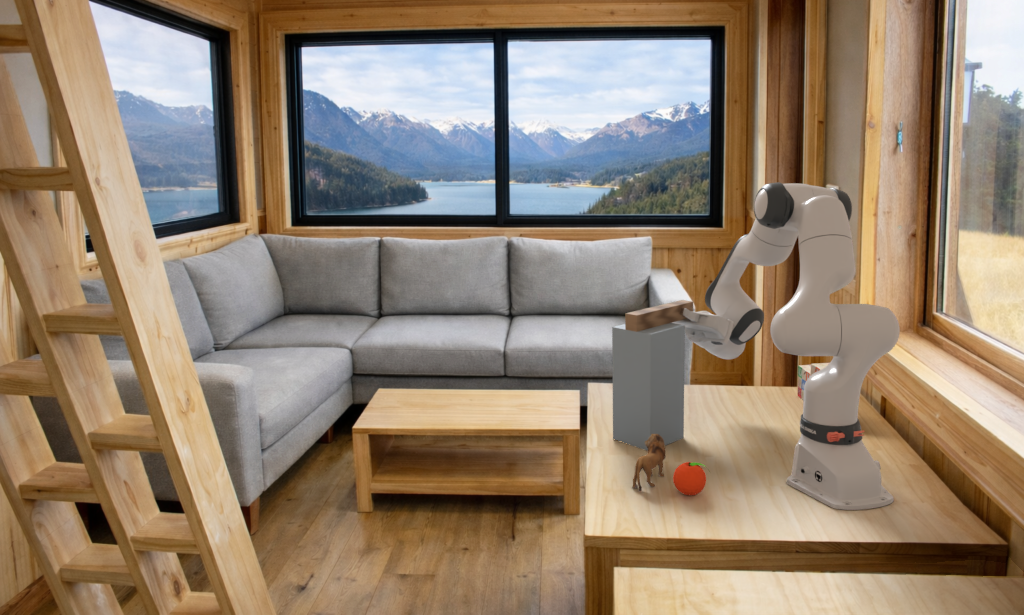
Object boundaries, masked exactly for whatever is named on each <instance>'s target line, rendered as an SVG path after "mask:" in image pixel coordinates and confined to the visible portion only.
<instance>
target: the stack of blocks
mask: <svg viewBox="0 0 1024 615" xmlns="http://www.w3.org/2000/svg"><path fill="white" fill-rule="evenodd" d="M829 363H830V362H820V363H818V362H817V363H811V364H803V365H802V364H800V365H797V397H798V398H800V400H801V401H803V400H804V385H805V382H806V381H807V379H808V378H809V377H810V376H811V375H812V374H813V373H815V372H817V371H819V370H822V369H823V368H825V367H826V366H827V365H828V364H829Z"/></svg>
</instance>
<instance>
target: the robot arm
mask: <svg viewBox="0 0 1024 615" xmlns="http://www.w3.org/2000/svg"><path fill="white" fill-rule="evenodd" d="M753 212H754V217H755V218H754V219H755V220H754V221H753V224H752V227H751V229H750V231H749V233H747V234H743V236H740V238H738V240H737V241H736V242H735V243H734V245H733V246H732V248H731V250H730V251H729V254H728V255H727V257H726V259H725V261H724V263H723V265H722V267H721V268H720V270H719V272H718V273H717V275H716V277H715V279H713V281H712V282H711V283H710V285H709V286H708V287H707V289H706V291H705V296H704V303H705V305H706V307H707V308H708V309H709V310H711V311H712V312H713V313H714V314H712V313H711V312H709V311H707V310H700V311H699V310H698V311H694V310H693V312H692V311H690V310H688V309H685V308H681V311H680V315H682V316H683V317H686V318H687V319H684V320H680V321H676V322H672V323H675V324H680V325H685V336H686V338H687V339H688V340H689V341H691V342H692V343H694V344H695V345H696V346H699V348H702V349H705V351H707V352H708V353H710V354H711V355H713V356H716V357H717V358H720V359H723V360H733V359H737V358H739V356H740V355H742V354H743V352H744V351H745V348H746V343H747V342H749V341H751V340H752V339H753V338H754V337H756V336H757V335H758V333H759V332H760V331H761V329H762V328H763V324H764V321H765V312H764V310H762V308H761V307H760V306H759V305H758V304H757V303H756V302H755V301H754V300H753V299H752V298H751V297H750V296H749V295H748V294H747V293H746V292H745V290H743V288H742V286H741V283H740V281H741V277H742V276H743V275H744V272H745V271H746V269H747V267H748V265H749V264H750V263H751V264H754V265H757V266H762V267H774V266H777V265H780V264H782V263H784V262H785V261H786V260H787V259H788V258H789V257H790V255H791V253H792V252H793V249H794V247H795V245H796V242H797V239H798V242H797V244H798V252H799V254H798V255H799V279H798V280H799V281H798V285H797V288H796V290H795V293H794V294H793V296H792V298H791V299H790V300H789V301H788V302H787V303H786V304H785V305H784V306H783V307H781V308H780V309H778V311H777V312H776V313H775V314H774V316H773V317H772V320H771V323H770V329H769V331H770V338H771V339H772V343H773V344H774V346H775V347H776V348H777V349H778V350H779V352H781V353H784V354H789V355H793V356H800V357H832V359H831V361H830V362H828V363H829V364H828V365H827V366H826V367H825V368H823V369H822V370H819V371H817V372H815V373H813V374H812V375H811V376H810V377H809V378H808V379H807V381H806V382H805V385H804V400H802V401H803V404H802V405H803V406H802V414H801V415H800V419H799V432H800V433H801V434H800V437H799V439H798V442H797V443H796V445H795V447H794V453H793V461H792V465H791V466H792V468H791V474H790V475H789V476H787V478H786V484H787V485H789V486H790V487H793V488H794V489H796V490H798V491H800V492H802V493H804V494H806V495H807V496H810V497H811V498H813V499H815V500H817V501H818V502H821V503H823V504H824V505H826V506H829V507H830V508H833V509H835V510H846V511H847V510H848V511H849V510H850V511H851V510H853V511H854V510H856V511H857V510H858V511H859V510H867V509H875V508H881V507H884V506H888V505H890V504H892V503H893V502H894V496H893V494H891V493H890V492H889V491H888V490H887V489H886V488H885V487H884V486H883V485H882V473H881V463H880V461H878V459H877V460H874V458H873V456H872V455H871V453H870V452H869V449H868V448H867V447H866V446H865V443H864V442H863V436H864V437H865V434H863V433H865V430H862V425H861V423H860V419H859V418H858V417H859V407H860V406H859V404H860V398H861V392H862V391H861V390H862V385H863V382H864V380H865V378H866V376H867V374H868V372H869V371H870V369H871V368H872V366H874V365H875V363H876V362H877V361H878V360H879V359H881V358H882V357H883V356H884V355H886V354H887V353H890V352H891V351H892V350H893V349H894V347H895V346H896V345H897V343H898V340H899V339H900V332H901V329H900V323H899V320H898V318H897V316H896V314H895V313H894V312H893V311H892V309H890V308H889V307H885V306H881V305H874V304H868V303H839V304H838V303H832V302H831V299H830V298H831V297H830V296H831V294H834V293H836V292H838V291H840V290H842V289H843V288H845V287H847V286H848V285H849V284H850V283H851V282H852V281H853V280H854V278H855V276H856V271H857V269H856V260H855V251H854V245H853V244H854V243H853V236H852V234H853V233H852V230H851V225H850V221H851V218H852V214H853V204H852V200H851V198H850V196H849V194H848V193H846V192H845V191H843V190H840V189H837V188H834V187H830V188H827V187H823V186H818V185H811V184H808V183H800V182H799V183H796V182H793V183H791V182H790V183H789V182H788V183H782V182H778V181H777V182H769V183H765V184H764V185H762V186H761V188H759V190H758V191H757V194H756V195H755V199H754V205H753Z"/></svg>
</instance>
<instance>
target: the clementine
mask: <svg viewBox="0 0 1024 615" xmlns="http://www.w3.org/2000/svg"><path fill="white" fill-rule="evenodd" d="M702 466H703V467H704V468H705V467H706V465H705V464H702V463H700V462H695V461H694V462H692V461H686V462H683V463H681V464H679V465H678V466H677V467H676V468H675V469H674V472H673V475H672V481H673V484H674V487H675V488H676V490H677V491H678V492H680V493H681V494H682V495H684V496H696V495H698V494H700V493H701V492H702V491H703V490H704V489H705V487H706V484H707V474H706V472H705V470H704V468H702ZM706 468H707V467H706ZM707 470H708V471H709V473H711V471H710V470H709V468H707Z"/></svg>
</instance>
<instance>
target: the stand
mask: <svg viewBox="0 0 1024 615" xmlns="http://www.w3.org/2000/svg"><path fill="white" fill-rule="evenodd" d="M611 328H612V329H611V334H612V335H611V337H612V341H611V342H612V347H611V348H612V349H611V351H612V353H611V354H612V355H611V356H612V360H611V361H612V440H613V439H615V440H614V441H616V440H618V441H617V442H619V441H622V442H624V443H623V444H625V443H627V444H626V445H629V444H630V446H632V447H635V446H636V447H635V448H638V449H641V450H645V451H647V452H648V449H647V447H646V446H645V441H647V440H648V439H649V437H650V436H651V434H659V435H660V436H661V437H662V438H663V439H664V444H665V446H667V445H670V444H672V443H674V442H678V441H680V440H682V439H684V435H685V434H684V432H685V430H684V426H685V424H684V423H685V422H684V421H685V356H686V355H685V351H686V350H685V348H686V346H685V344H686V343H685V340H686V337H685V336H686V333H685V325H680V324H675V323H668V324H664V325H661V326H657V327H653V328H649V329H645V330H642V331H638V332H635V331H630V330H625V323H623V324H620V325H619V324H618V325H615V326H612V327H611ZM622 442H621V443H622Z"/></svg>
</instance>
